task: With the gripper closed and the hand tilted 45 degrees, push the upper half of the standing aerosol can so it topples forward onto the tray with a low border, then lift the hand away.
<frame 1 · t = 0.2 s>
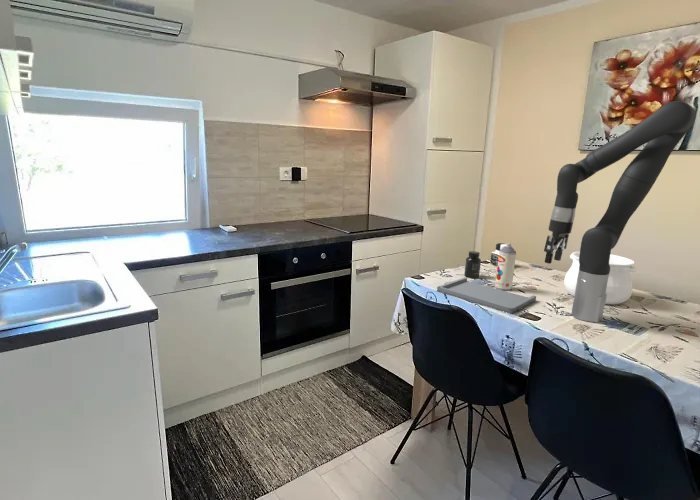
hand: (552, 261, 151), 18 cm above the table, tool pointing down, fingers open, 8 cm apart
medicine bottle: (499, 266, 213), on the table
pot: (594, 296, 170), on the table
tray: (485, 295, 164), on the table
aerosol can: (502, 288, 175), on the table
supplement bottle: (471, 277, 191), on the table
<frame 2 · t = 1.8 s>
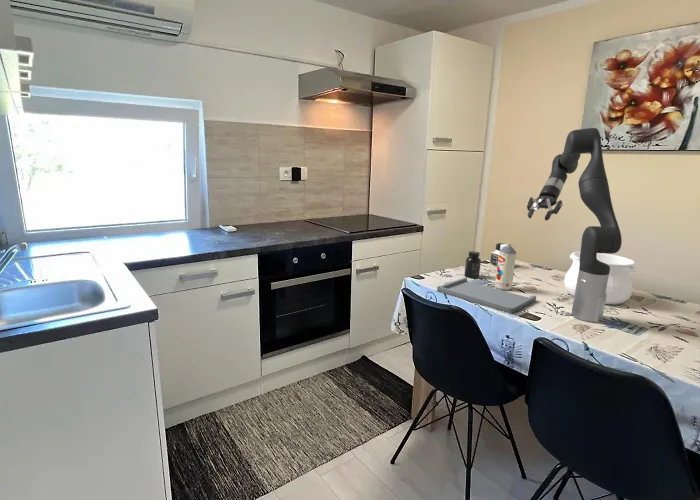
hand: (537, 218, 175), 30 cm above the table, tool tilted 45°, fingers open, 6 cm apart
nothing on the table moved.
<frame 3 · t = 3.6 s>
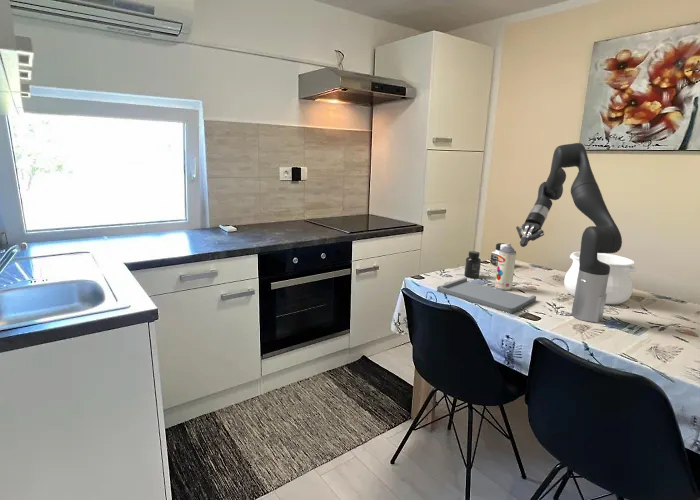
hand: (522, 245, 181), 17 cm above the table, tool tilted 45°, fingers closed
nothing on the table moved.
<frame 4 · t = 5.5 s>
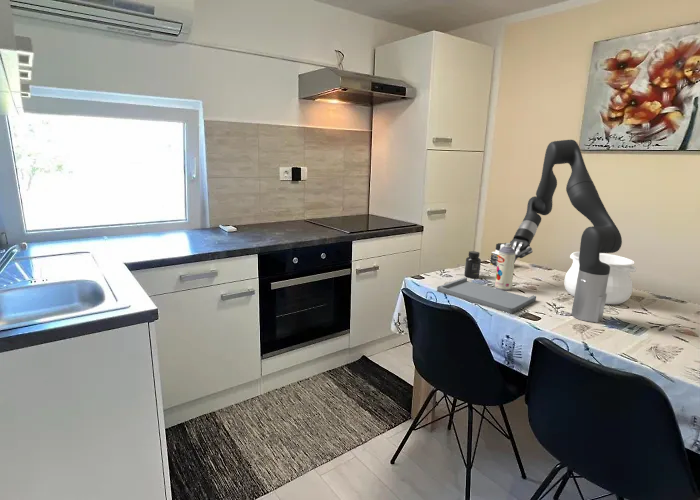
hand: (510, 263, 175), 11 cm above the table, tool tilted 45°, fingers closed
aerosol can: (503, 288, 175), on the table, touching gripper
everything else where it was.
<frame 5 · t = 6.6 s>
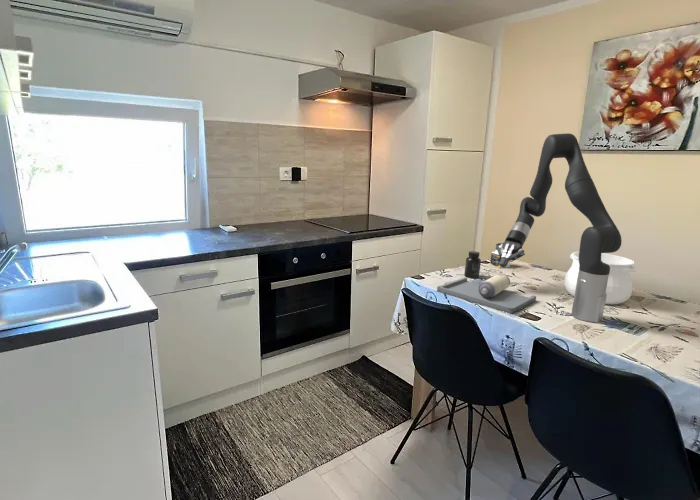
hand: (501, 266, 170), 11 cm above the table, tool tilted 45°, fingers closed
aerosol can: (502, 281, 172), point 4 cm above the table, touching tray
everything else where it was.
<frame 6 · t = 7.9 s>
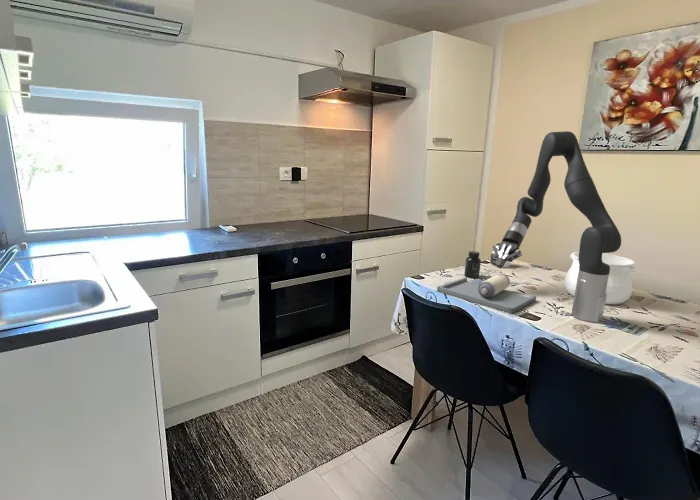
hand: (498, 266, 168), 11 cm above the table, tool tilted 45°, fingers closed
nothing on the table moved.
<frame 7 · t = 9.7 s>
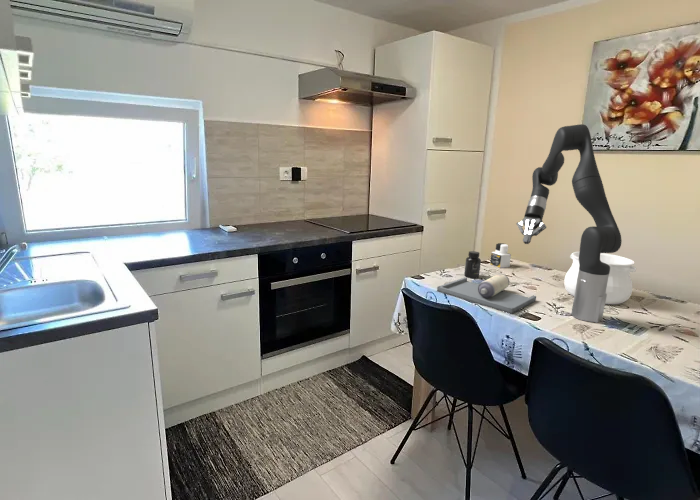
hand: (526, 243, 176), 19 cm above the table, tool tilted 30°, fingers closed
nothing on the table moved.
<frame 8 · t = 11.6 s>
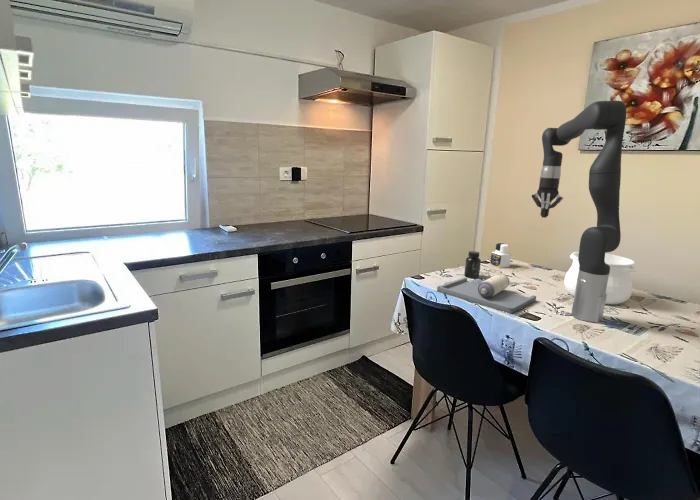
hand: (544, 217, 174), 31 cm above the table, tool pointing down, fingers closed
nothing on the table moved.
at the end: aerosol can tilted 90°; aerosol can touching tray; the gripper is holding nothing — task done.
